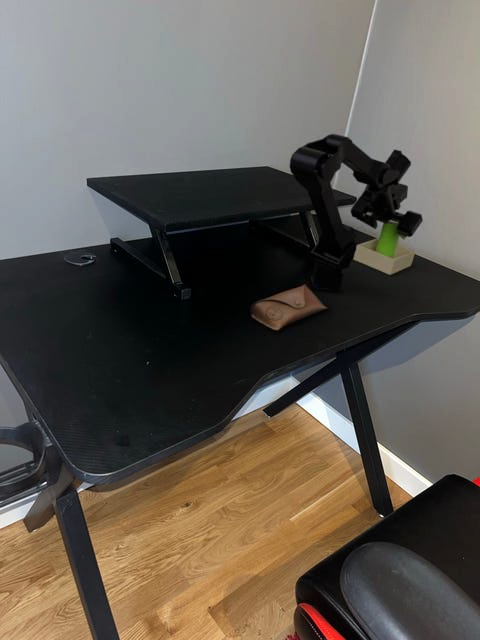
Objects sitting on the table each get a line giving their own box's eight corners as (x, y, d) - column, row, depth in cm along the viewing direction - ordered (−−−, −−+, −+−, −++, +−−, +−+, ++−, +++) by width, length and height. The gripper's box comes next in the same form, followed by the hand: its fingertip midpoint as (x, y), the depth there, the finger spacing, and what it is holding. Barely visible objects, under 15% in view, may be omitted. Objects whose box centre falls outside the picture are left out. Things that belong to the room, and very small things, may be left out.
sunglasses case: (278, 331, 93) (270, 299, 92) (255, 333, 99) (247, 303, 98) (329, 307, 105) (323, 279, 104) (306, 310, 110) (299, 283, 109)
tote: (389, 275, 127) (394, 260, 124) (353, 259, 134) (356, 245, 131) (410, 265, 134) (415, 251, 132) (375, 251, 141) (379, 237, 139)
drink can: (383, 265, 131) (395, 224, 124) (369, 258, 134) (380, 218, 128) (395, 263, 133) (407, 222, 127) (381, 256, 137) (392, 216, 131)
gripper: (431, 183, 112) (436, 220, 124) (366, 165, 123) (377, 201, 135) (406, 219, 111) (414, 252, 123) (343, 197, 122) (356, 230, 134)
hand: (390, 232), depth 129 cm, fingers open, 9 cm apart
